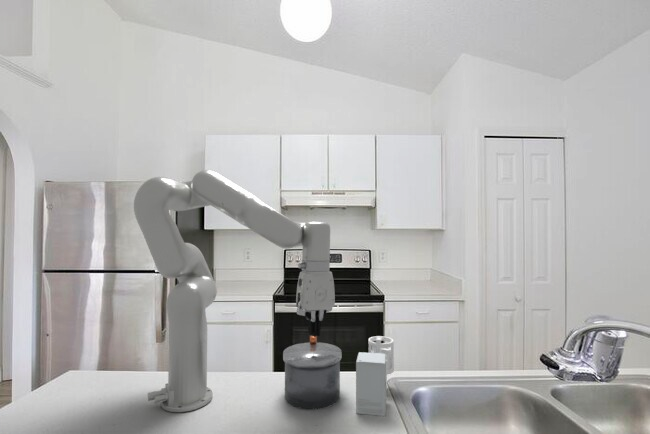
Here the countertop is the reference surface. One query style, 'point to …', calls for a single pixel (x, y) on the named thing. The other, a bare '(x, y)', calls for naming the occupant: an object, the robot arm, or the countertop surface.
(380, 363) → the supplement box
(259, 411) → the countertop surface
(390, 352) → the white caged cylinder
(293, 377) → the grey rounded cylinder
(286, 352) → the lid
